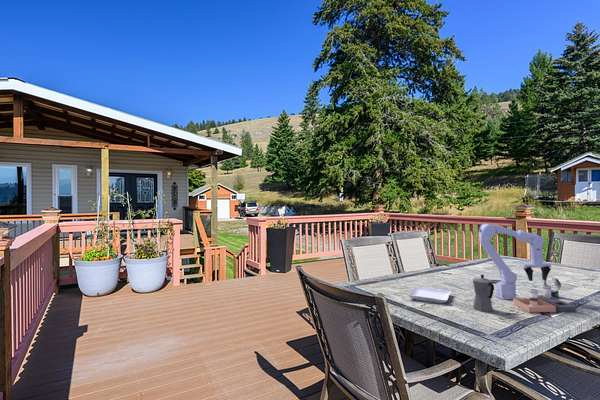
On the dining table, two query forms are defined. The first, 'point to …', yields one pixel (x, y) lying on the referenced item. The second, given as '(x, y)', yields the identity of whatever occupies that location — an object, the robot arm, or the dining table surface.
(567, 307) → the fuse holder
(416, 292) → the salad plate
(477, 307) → the coffeepot
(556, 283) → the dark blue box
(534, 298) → the cylinder
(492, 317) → the dining table surface
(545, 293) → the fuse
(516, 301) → the parts tray
